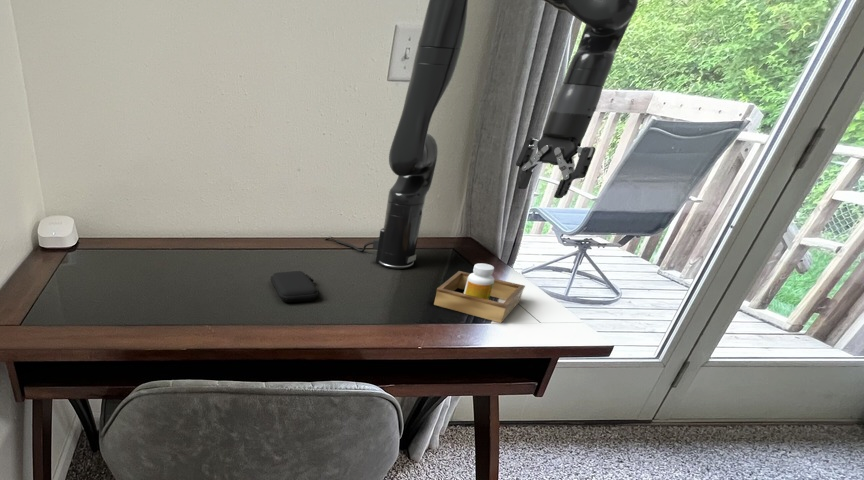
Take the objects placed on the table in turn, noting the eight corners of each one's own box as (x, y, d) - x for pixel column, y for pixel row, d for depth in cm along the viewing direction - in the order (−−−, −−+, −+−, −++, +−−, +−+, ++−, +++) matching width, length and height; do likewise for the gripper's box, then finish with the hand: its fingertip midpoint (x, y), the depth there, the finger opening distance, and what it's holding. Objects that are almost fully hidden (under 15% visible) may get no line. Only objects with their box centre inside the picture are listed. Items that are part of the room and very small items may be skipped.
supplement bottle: (489, 312, 107) (501, 271, 102) (463, 310, 108) (474, 270, 103) (483, 301, 111) (494, 262, 106) (458, 300, 112) (468, 261, 107)
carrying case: (324, 301, 114) (308, 278, 127) (325, 290, 113) (308, 267, 125) (281, 305, 113) (268, 281, 126) (281, 293, 112) (269, 270, 124)
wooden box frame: (433, 304, 111) (436, 288, 109) (455, 286, 119) (459, 270, 117) (501, 323, 102) (506, 306, 100) (519, 301, 111) (525, 285, 109)
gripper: (528, 107, 100) (500, 186, 109) (597, 114, 90) (560, 202, 98) (550, 107, 103) (521, 185, 112) (619, 115, 93) (581, 200, 101)
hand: (539, 193), depth 105 cm, fingers open, 8 cm apart
